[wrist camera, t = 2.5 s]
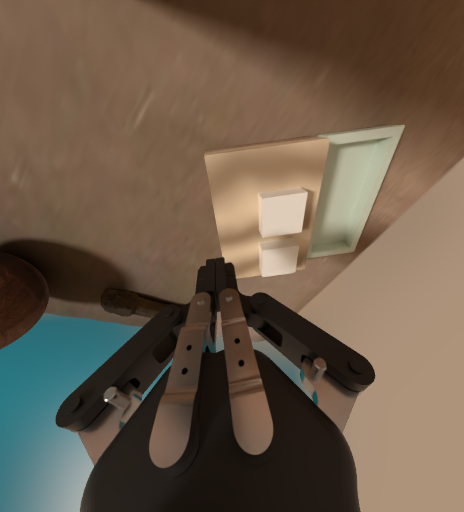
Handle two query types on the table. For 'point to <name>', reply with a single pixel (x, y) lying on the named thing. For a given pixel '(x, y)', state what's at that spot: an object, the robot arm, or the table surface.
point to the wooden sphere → (20, 297)
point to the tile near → (281, 211)
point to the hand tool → (129, 304)
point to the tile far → (278, 257)
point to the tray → (350, 186)
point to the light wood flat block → (262, 180)
